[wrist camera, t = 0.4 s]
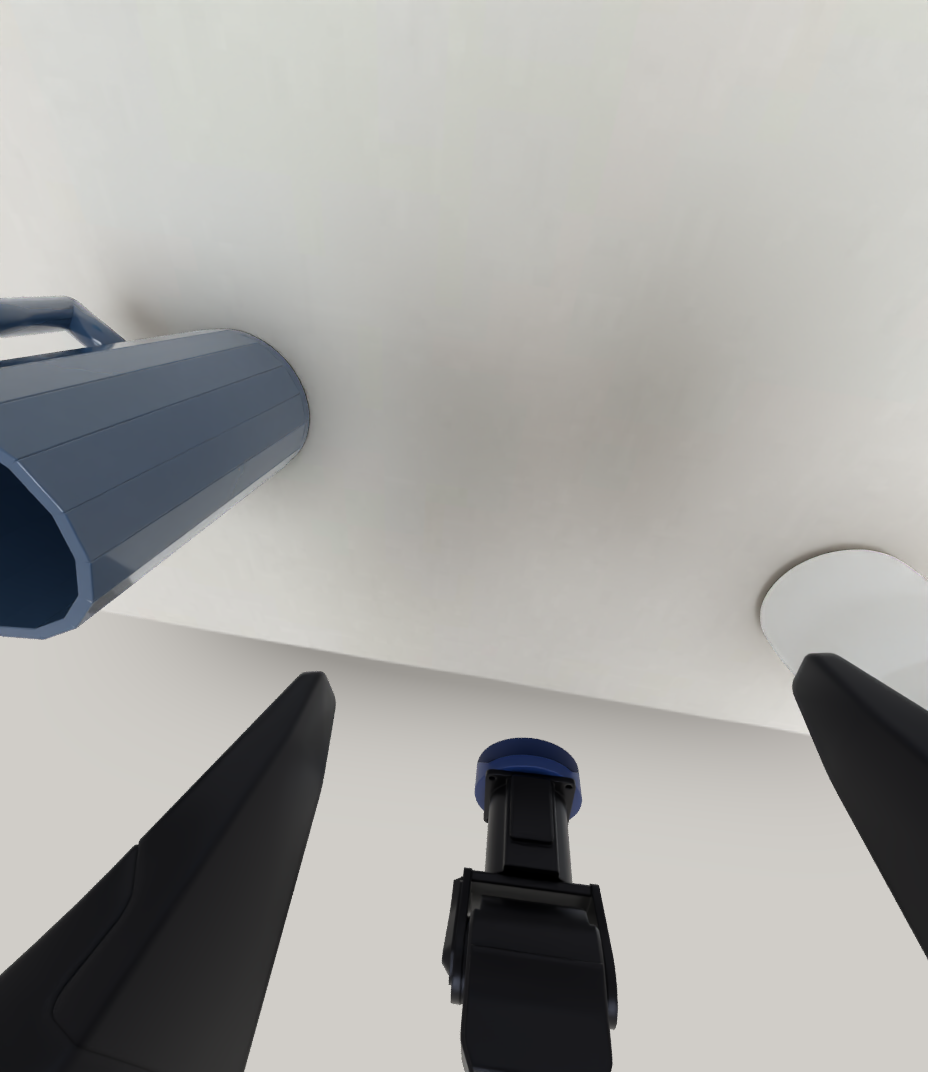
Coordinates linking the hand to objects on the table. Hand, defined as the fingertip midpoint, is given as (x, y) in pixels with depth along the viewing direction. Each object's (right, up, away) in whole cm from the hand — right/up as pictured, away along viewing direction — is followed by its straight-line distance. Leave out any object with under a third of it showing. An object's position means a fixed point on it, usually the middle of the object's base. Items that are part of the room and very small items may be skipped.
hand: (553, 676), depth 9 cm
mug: (-14, +10, +13) cm, 22 cm away
